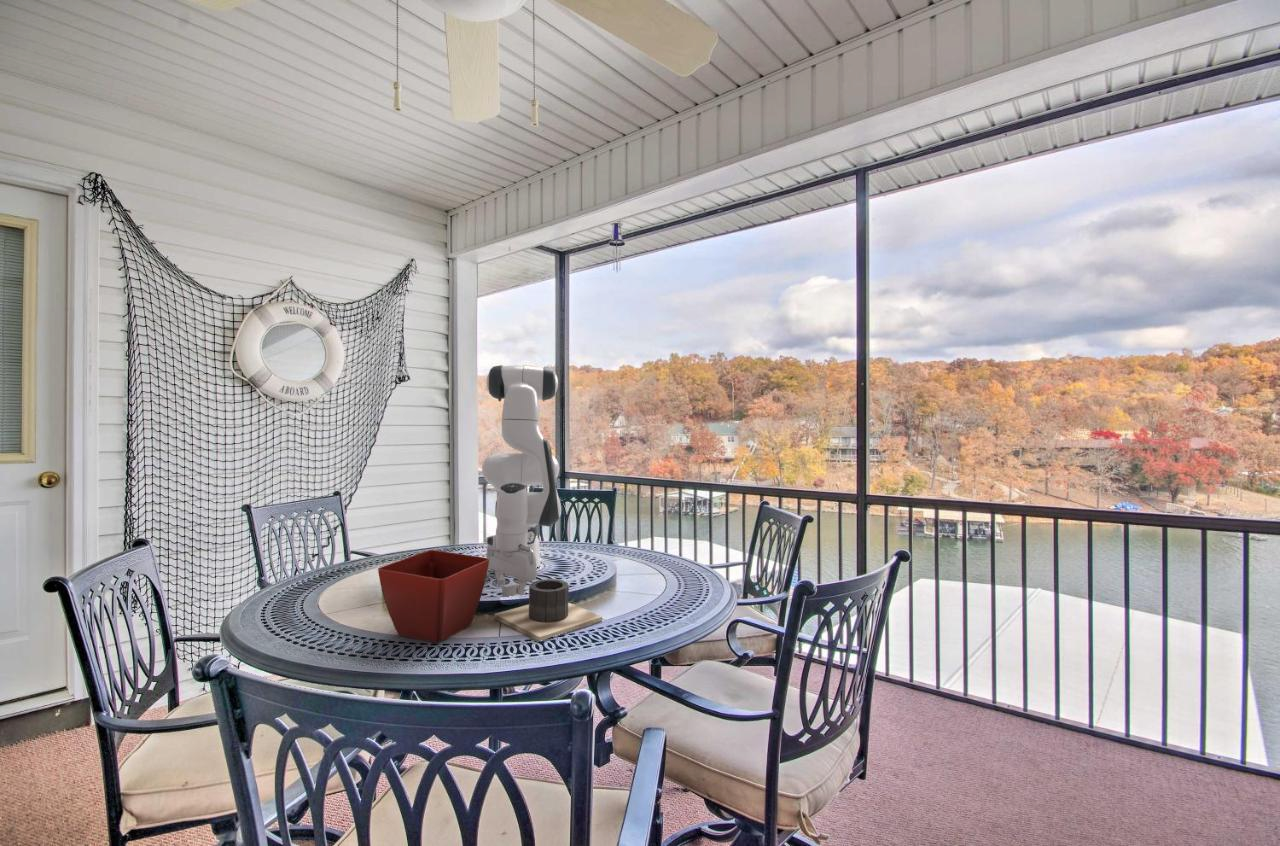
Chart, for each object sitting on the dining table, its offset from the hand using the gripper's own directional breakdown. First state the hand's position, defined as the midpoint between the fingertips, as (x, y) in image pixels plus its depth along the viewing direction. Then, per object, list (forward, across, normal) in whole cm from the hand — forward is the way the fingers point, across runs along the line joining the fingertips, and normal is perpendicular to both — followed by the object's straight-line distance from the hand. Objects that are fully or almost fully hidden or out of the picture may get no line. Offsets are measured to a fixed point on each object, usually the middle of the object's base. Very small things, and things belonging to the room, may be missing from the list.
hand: (510, 590), depth 166 cm
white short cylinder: (+4, 0, 0) cm, 4 cm away
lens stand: (+4, -18, 0) cm, 18 cm away
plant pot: (+4, -4, +25) cm, 26 cm away
